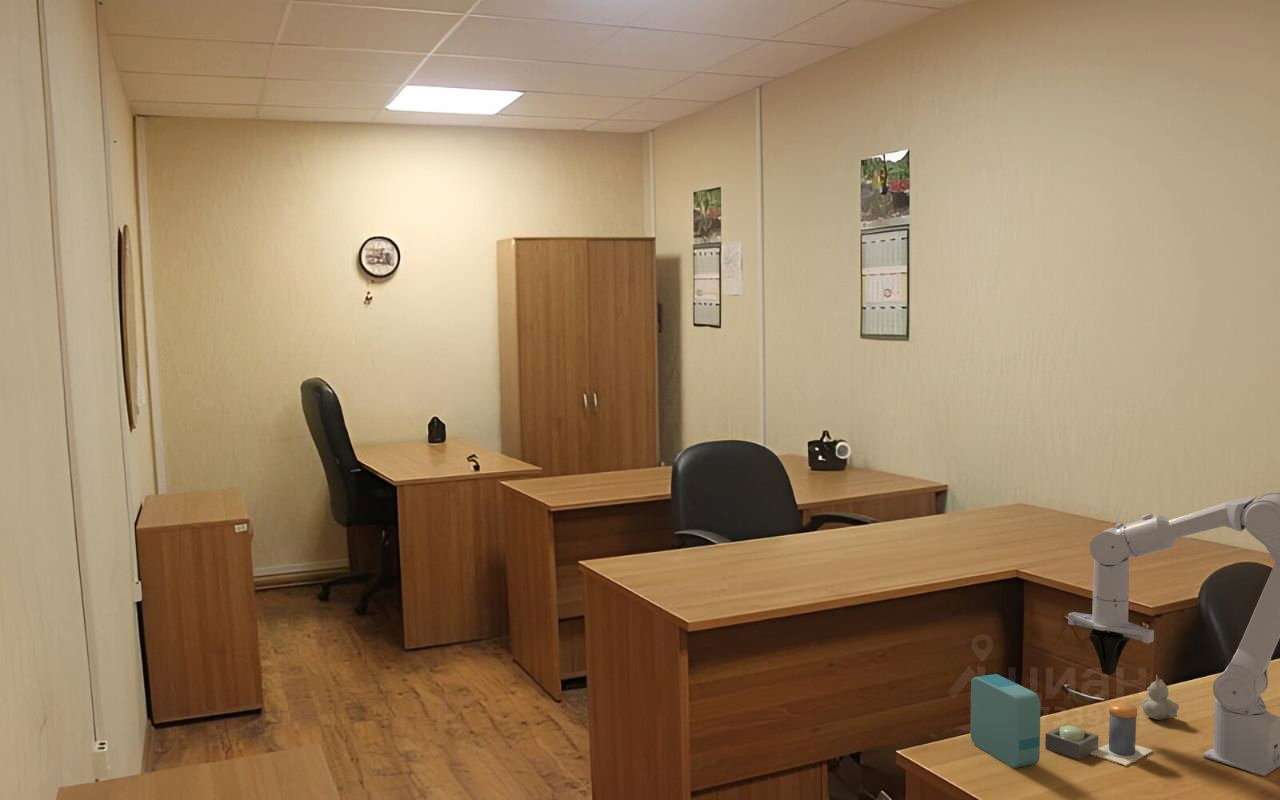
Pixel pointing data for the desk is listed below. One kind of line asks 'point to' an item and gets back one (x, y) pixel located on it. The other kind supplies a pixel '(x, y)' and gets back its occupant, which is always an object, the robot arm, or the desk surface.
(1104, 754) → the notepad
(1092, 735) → the button housing
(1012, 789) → the desk surface
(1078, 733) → the button
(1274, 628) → the robot arm
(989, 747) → the data package
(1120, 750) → the orange-capped grey cylinder
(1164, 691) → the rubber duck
